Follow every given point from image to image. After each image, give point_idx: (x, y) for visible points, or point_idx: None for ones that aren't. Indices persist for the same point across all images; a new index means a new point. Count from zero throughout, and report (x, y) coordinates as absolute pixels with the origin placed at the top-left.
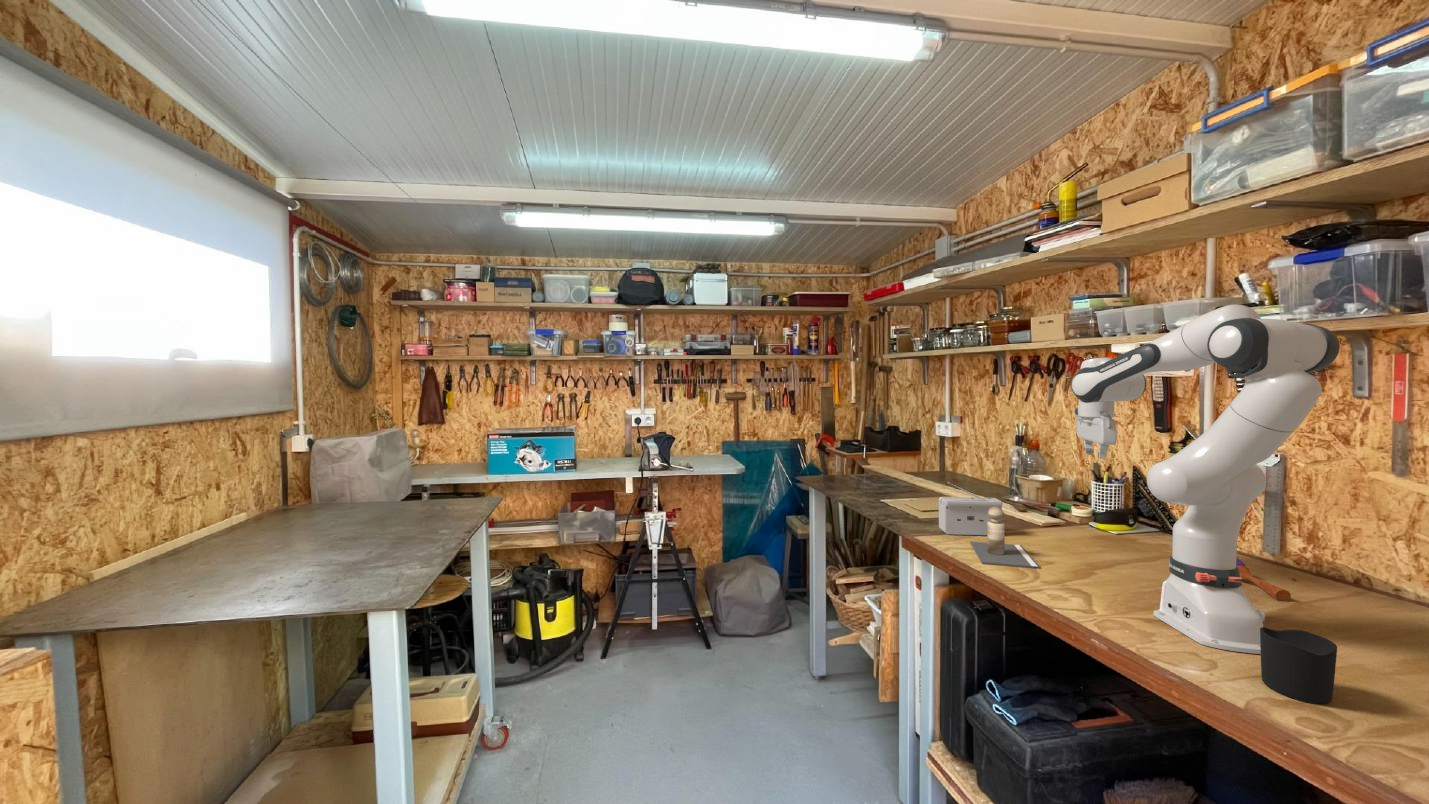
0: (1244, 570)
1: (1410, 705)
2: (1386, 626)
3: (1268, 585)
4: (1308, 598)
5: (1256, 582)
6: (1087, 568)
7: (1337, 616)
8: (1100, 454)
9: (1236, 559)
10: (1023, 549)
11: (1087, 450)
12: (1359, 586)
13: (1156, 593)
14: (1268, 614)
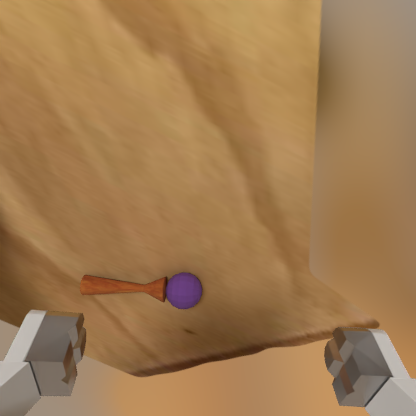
0: (153, 294)
1: None
2: None
3: (102, 288)
4: (111, 308)
5: (124, 284)
6: (187, 49)
7: (48, 299)
8: (12, 347)
9: (176, 305)
10: None
11: (353, 359)
12: (177, 366)
13: (47, 122)
14: (14, 235)
